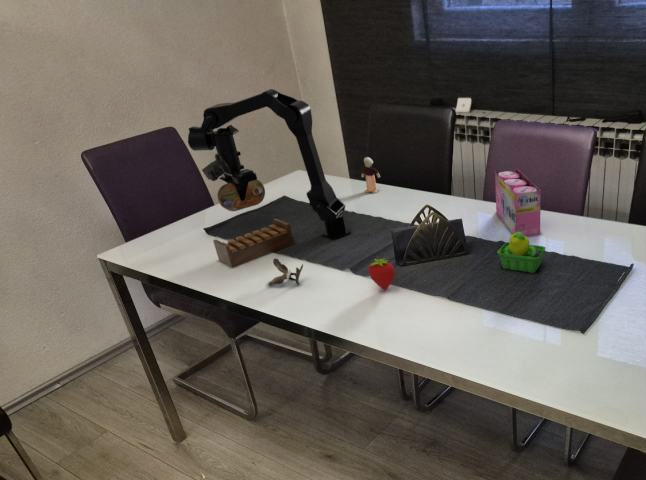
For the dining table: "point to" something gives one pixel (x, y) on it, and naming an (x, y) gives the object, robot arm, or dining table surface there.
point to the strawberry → (382, 273)
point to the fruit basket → (521, 254)
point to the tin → (231, 198)
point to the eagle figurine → (285, 273)
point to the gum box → (518, 202)
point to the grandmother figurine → (370, 175)
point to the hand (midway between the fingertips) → (240, 199)
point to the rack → (254, 244)
